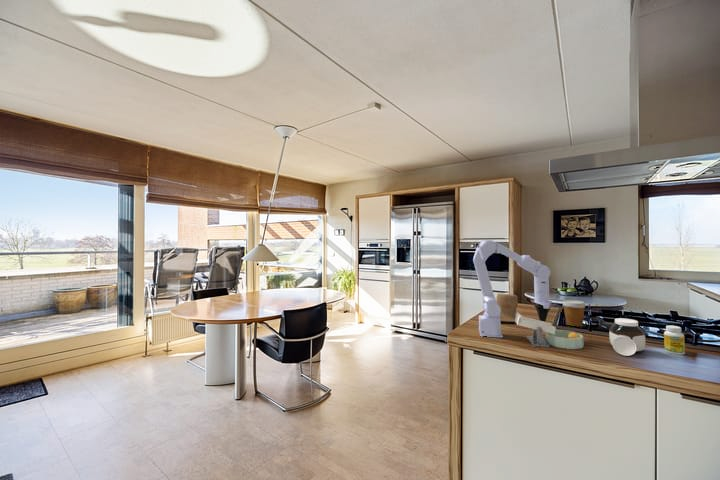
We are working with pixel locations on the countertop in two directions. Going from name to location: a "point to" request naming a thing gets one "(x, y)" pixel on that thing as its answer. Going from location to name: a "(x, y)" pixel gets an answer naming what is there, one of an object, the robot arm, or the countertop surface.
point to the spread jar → (627, 337)
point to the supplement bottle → (674, 340)
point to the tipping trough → (534, 323)
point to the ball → (573, 335)
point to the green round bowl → (564, 340)
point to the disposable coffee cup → (574, 312)
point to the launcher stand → (537, 339)
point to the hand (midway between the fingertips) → (542, 321)
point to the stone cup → (507, 307)
